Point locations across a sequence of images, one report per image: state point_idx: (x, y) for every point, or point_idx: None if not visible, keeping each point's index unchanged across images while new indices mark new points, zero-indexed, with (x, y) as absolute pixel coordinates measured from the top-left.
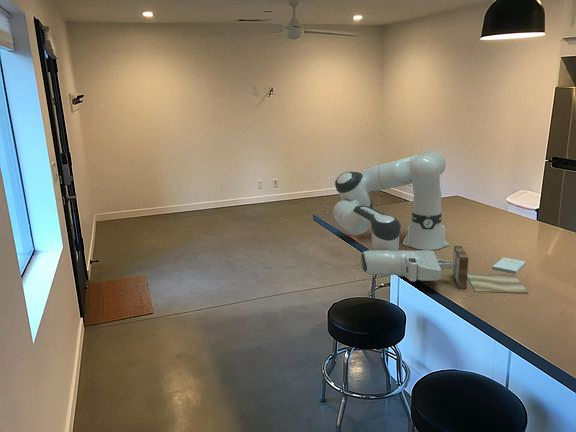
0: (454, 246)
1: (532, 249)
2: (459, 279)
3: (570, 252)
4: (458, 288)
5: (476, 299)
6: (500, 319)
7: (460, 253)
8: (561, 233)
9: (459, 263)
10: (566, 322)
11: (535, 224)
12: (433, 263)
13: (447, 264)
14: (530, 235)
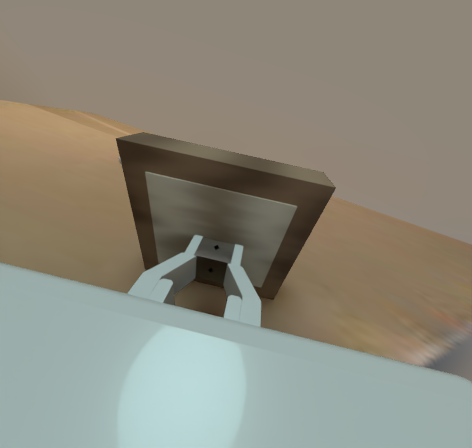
0: (128, 141)
1: (109, 136)
2: (285, 275)
3: (147, 132)
4: (273, 298)
5: (344, 282)
6: (437, 281)
7: (264, 167)
8: (86, 114)
9: (303, 221)
10: (370, 211)
11: (28, 105)
12: (333, 419)
13: (240, 267)
14: (58, 119)
